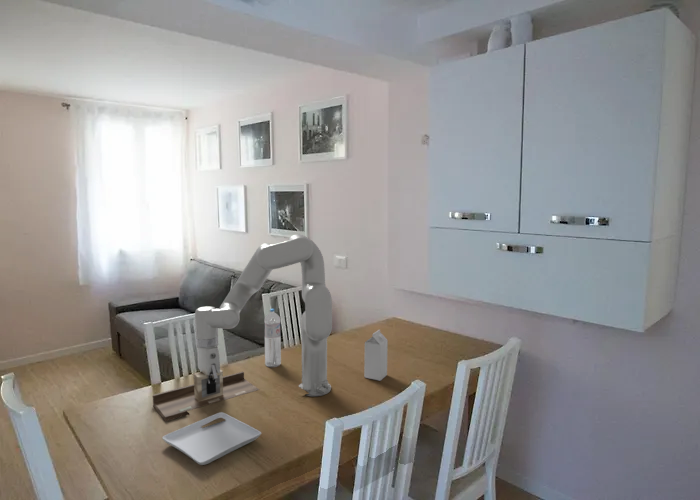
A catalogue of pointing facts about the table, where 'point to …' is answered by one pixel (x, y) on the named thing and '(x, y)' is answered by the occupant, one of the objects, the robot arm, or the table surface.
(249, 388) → the picture ledge
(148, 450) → the table surface
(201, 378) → the picture frame
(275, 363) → the water bottle
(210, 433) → the salad plate
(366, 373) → the milk carton
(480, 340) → the table surface
